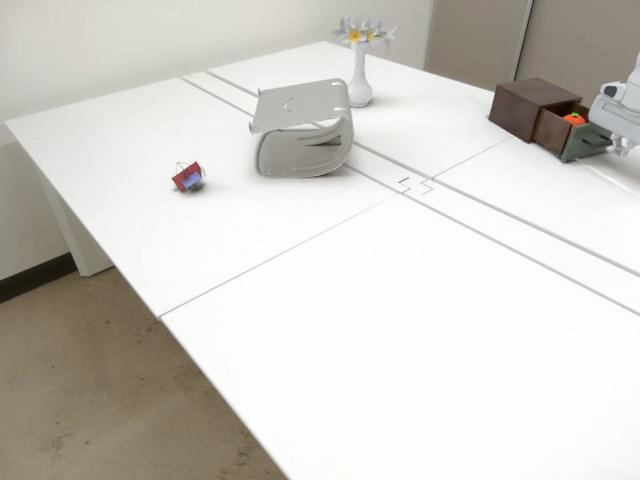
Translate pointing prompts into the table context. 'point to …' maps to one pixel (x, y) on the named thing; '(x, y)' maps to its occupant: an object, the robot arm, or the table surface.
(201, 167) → the geometric puzzle
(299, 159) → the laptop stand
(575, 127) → the drawer
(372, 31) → the flower vase
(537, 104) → the cabinet
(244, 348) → the table surface
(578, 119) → the clementine
